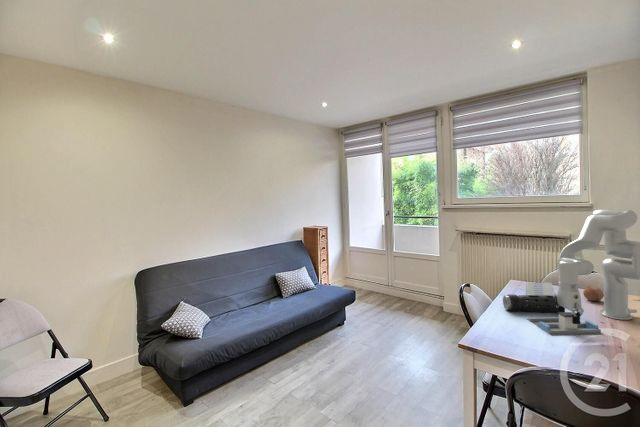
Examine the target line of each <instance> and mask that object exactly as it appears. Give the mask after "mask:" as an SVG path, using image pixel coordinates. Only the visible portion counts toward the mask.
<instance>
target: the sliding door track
mask: <svg viewBox="0 0 640 427" xmlns="http://www.w3.org/2000/svg"><path fill="white" fill-rule="evenodd" d="M526 320H527V321H528V322H530V323H532V324H533V325H535V326H536V327H538V328H539V329H540V330H542V331H544V332H545V333H547V334H549V335H550V336H552V337H560V336H561V337H563V336H564V337H566V336H567V337H570V336H571V337H572V336H605V334H603V333H602V329H600V328H599V325H598V324H596V323H594V322H592V321H590V320H585V321H584V322H583V321H582V322H581V321H580V324H577V329H560V328H559V316H547V317H546V316H545V317H544V316H543V317H542V316H541V317H540V316H539V317H528V318H526Z"/></svg>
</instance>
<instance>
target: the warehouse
mask: <svg viewBox="0 0 640 427" xmlns="http://www.w3.org/2000/svg"><path fill="white" fill-rule="evenodd" d="M525 284H526V285H525V295H536V296H556V295H555V290H554V287H553V286H554V285H553V282H526V283H525Z"/></svg>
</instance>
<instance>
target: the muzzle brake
mask: <svg viewBox="0 0 640 427" xmlns="http://www.w3.org/2000/svg"><path fill="white" fill-rule="evenodd" d="M555 297H557V295H555V296H536V295H526V294H520V295H517V294H506V295H503V297H502V305H503V308H504V309H505V311H509V312H539V313H540V312H543V313H544V312H545V313H548V312H549V313H558V308H557V304H556V301H555ZM563 308H564V307H563Z"/></svg>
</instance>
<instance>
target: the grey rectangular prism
mask: <svg viewBox="0 0 640 427" xmlns="http://www.w3.org/2000/svg"><path fill="white" fill-rule="evenodd" d="M572 316H574V315H573V313H572V311H565V312H559V316H558V317H559V328H560V329H577V324H573V323H572Z"/></svg>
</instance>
